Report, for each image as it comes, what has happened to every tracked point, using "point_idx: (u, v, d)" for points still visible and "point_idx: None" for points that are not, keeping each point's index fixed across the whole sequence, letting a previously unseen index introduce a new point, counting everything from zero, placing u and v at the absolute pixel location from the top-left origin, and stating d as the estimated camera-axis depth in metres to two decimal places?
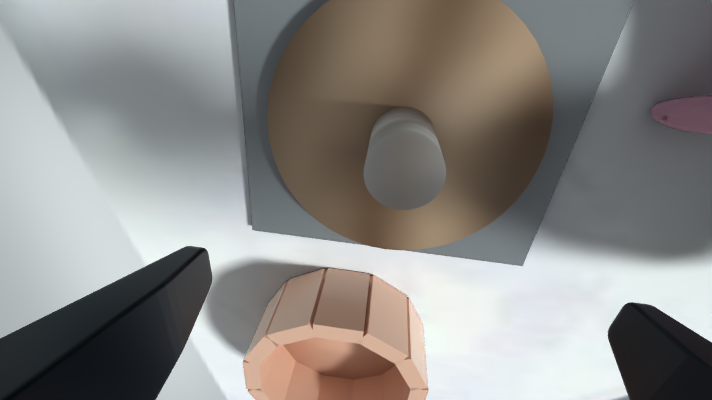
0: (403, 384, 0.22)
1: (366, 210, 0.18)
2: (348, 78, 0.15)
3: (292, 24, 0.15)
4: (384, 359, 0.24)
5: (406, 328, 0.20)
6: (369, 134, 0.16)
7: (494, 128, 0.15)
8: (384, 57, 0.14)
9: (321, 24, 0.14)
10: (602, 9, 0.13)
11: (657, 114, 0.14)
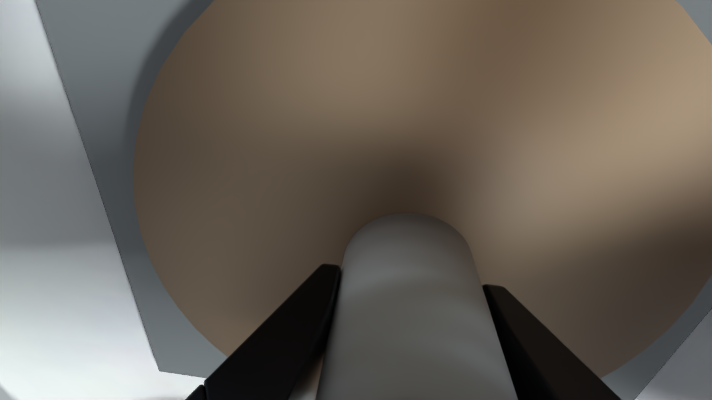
0: None
1: None
2: (289, 157, 0.07)
3: (166, 42, 0.07)
4: None
5: None
6: (340, 257, 0.08)
7: (596, 255, 0.07)
8: (365, 117, 0.06)
9: (218, 45, 0.06)
10: None
11: None
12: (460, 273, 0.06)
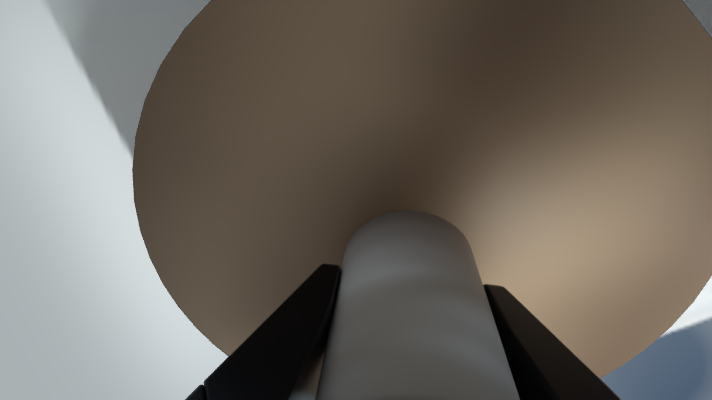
0: None
1: None
2: (289, 155, 0.07)
3: None
4: None
5: None
6: (340, 256, 0.08)
7: (598, 254, 0.07)
8: (366, 115, 0.06)
9: (218, 41, 0.06)
10: None
11: None
12: (461, 271, 0.06)
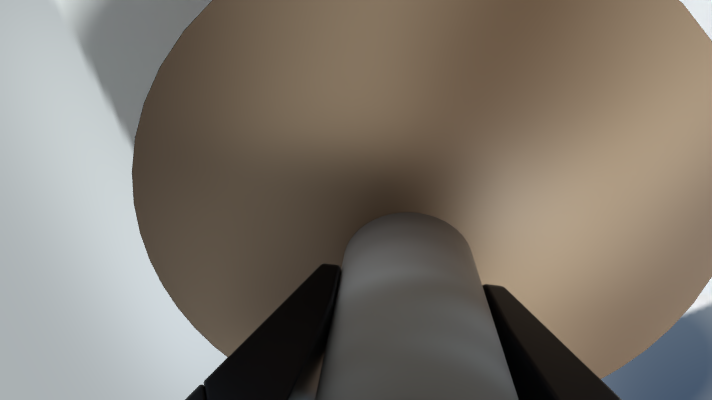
0: None
1: None
2: (289, 156, 0.07)
3: None
4: None
5: None
6: (340, 257, 0.08)
7: (597, 255, 0.07)
8: (366, 116, 0.06)
9: (218, 44, 0.06)
10: None
11: None
12: (460, 273, 0.06)
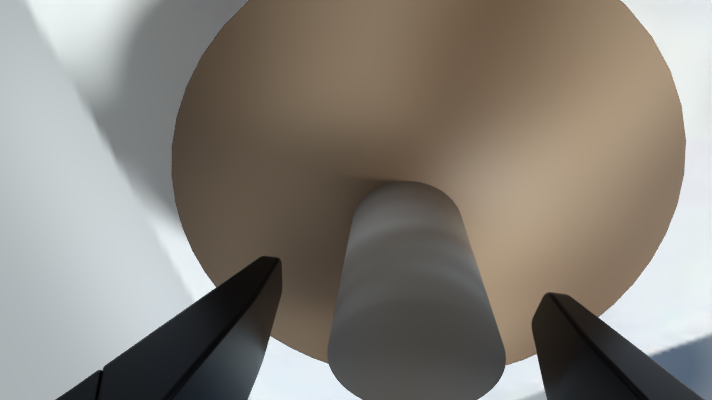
0: None
1: None
2: (307, 133, 0.08)
3: None
4: None
5: None
6: (348, 222, 0.09)
7: (568, 218, 0.09)
8: (372, 98, 0.08)
9: (250, 37, 0.07)
10: None
11: None
12: (450, 225, 0.07)
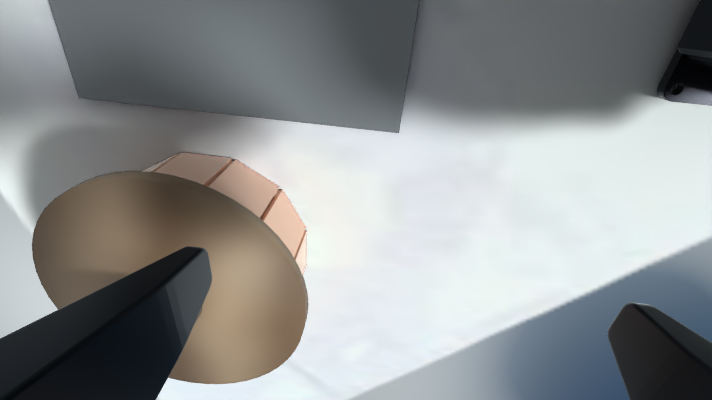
0: None
1: None
2: (101, 254, 0.15)
3: None
4: None
5: (262, 211, 0.17)
6: None
7: (251, 296, 0.16)
8: (128, 240, 0.15)
9: (59, 213, 0.14)
10: None
11: None
12: None
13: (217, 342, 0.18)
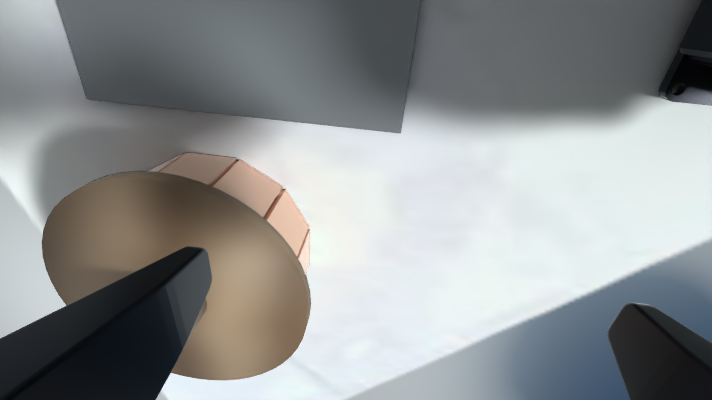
0: None
1: None
2: (109, 251, 0.16)
3: None
4: None
5: (265, 210, 0.17)
6: None
7: (254, 294, 0.16)
8: (134, 238, 0.15)
9: (68, 212, 0.15)
10: None
11: None
12: None
13: (221, 339, 0.18)
